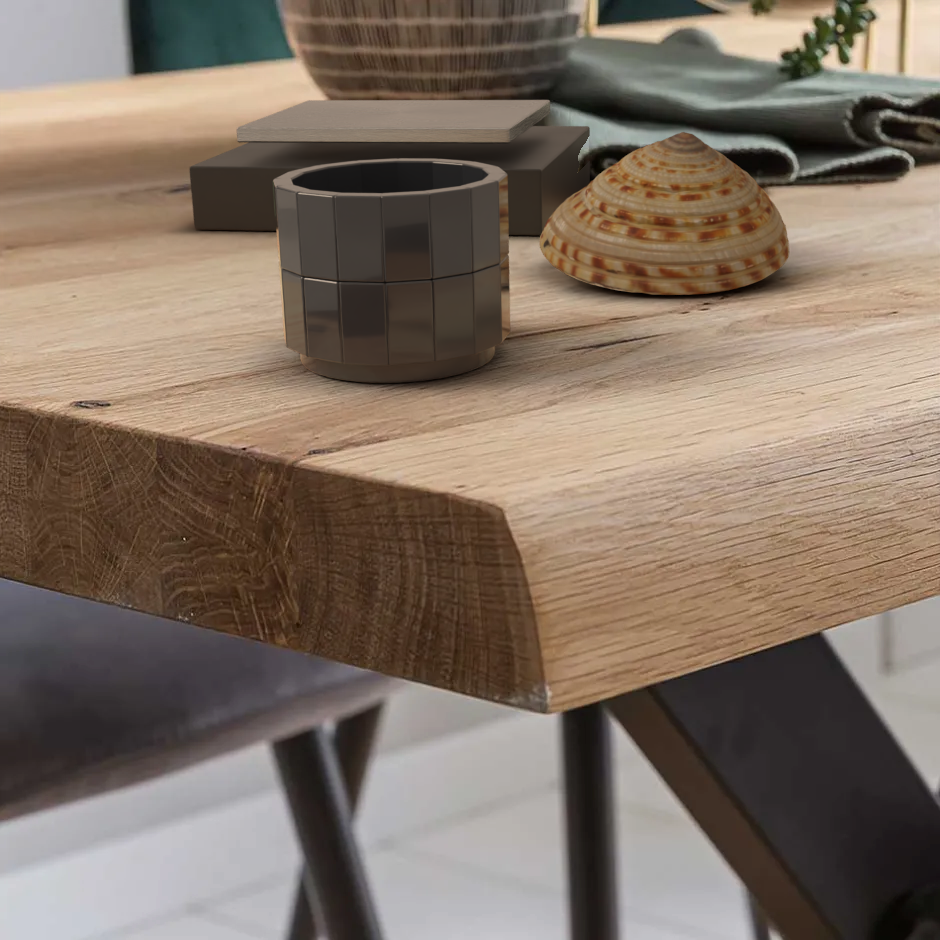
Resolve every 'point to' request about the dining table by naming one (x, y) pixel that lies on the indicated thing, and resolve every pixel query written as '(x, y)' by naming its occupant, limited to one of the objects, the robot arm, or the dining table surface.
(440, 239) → the grey faceted cup
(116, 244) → the dining table surface
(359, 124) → the scale pan
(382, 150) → the scale
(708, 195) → the seashell
